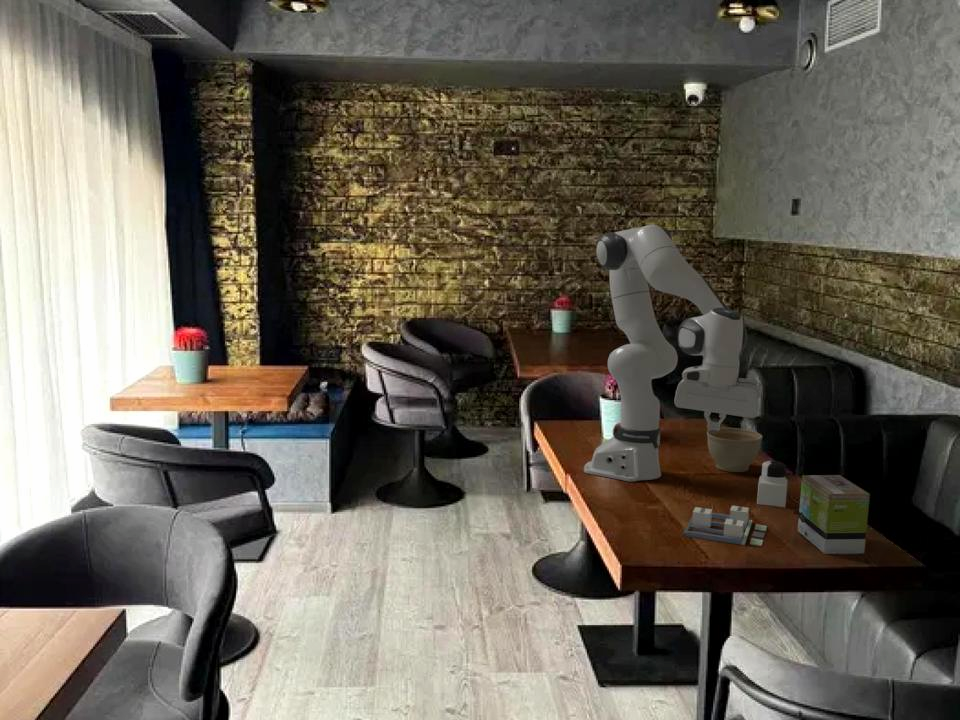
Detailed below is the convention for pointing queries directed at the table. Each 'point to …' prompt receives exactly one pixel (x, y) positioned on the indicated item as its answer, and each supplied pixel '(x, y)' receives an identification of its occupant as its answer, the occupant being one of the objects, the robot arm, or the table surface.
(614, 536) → the table surface
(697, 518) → the white slotted cube
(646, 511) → the table surface
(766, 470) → the medicine bottle
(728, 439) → the planter bowl
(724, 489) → the table surface
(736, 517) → the tab
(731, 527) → the tab
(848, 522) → the tea box
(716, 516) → the switch bank
